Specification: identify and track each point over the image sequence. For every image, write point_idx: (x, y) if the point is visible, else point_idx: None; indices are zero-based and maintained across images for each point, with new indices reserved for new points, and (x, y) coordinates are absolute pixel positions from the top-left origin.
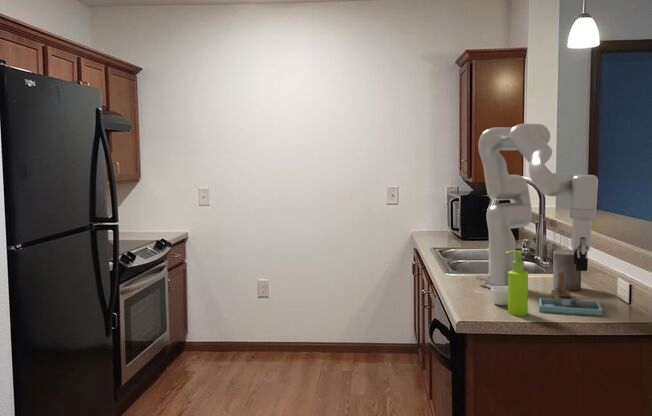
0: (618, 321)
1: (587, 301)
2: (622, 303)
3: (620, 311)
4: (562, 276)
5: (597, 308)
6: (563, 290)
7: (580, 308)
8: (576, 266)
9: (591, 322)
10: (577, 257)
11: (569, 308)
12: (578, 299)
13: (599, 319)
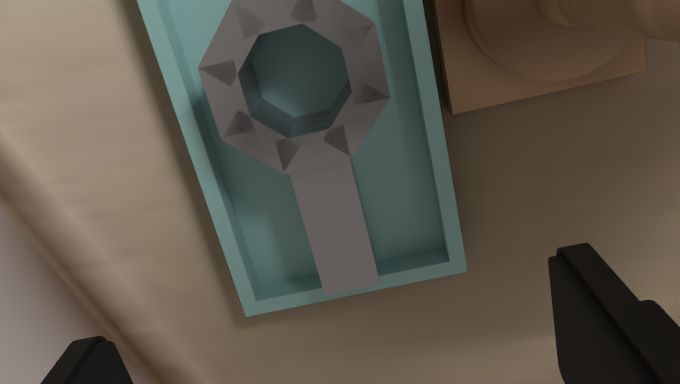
0: (194, 374)
1: (309, 240)
2: None
3: (423, 364)
4: (612, 16)
5: None
6: (552, 20)
7: (212, 197)
8: (50, 378)
9: (78, 262)
10: (595, 364)
11: (182, 126)
12: (324, 179)
13: (174, 291)
